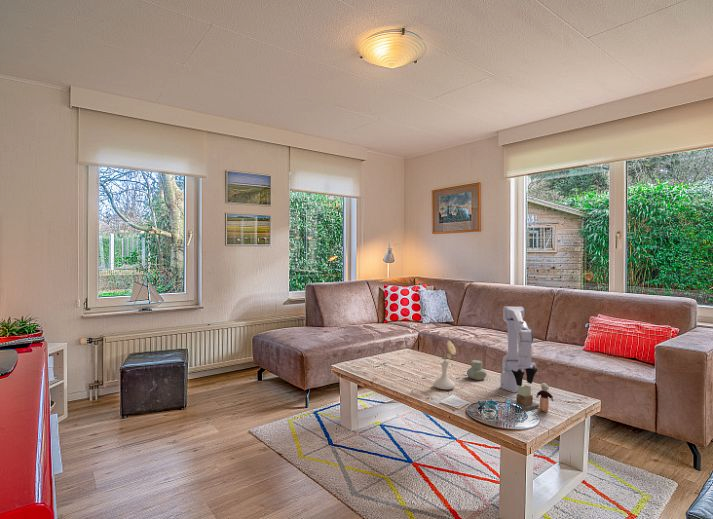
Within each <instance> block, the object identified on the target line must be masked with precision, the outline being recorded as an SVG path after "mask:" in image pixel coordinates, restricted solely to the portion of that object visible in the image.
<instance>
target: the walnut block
mask: <svg viewBox="0 0 713 519" xmlns="http://www.w3.org/2000/svg"><path fill="white" fill-rule="evenodd" d="M533 396H534V395H532V394H531V395H530V396H526V397H525V396H522V395H519V394H518V393H516V399H515V400H516V403H519V404H522V405H524V406H527V405H531V404H533V403H534V401H533Z"/></svg>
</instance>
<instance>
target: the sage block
mask: <svg viewBox="0 0 713 519" xmlns="http://www.w3.org/2000/svg"><path fill="white" fill-rule="evenodd" d="M531 389H532V387H531V386H530V385H526V384H523V383H522V386H518V392H517V394H519V395H522V396H525V397H526V396H530V395H532V394H531V392H532V390H531Z"/></svg>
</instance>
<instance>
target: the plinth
mask: <svg viewBox="0 0 713 519" xmlns="http://www.w3.org/2000/svg"><path fill="white" fill-rule="evenodd" d="M510 402H511V403H514V404H516V405H518V406H519V407H521V408H522V409H524V410H525V412H528V411H532V410H535V409H538V408H539V406H540V403H536V402H533V404H531V405H527V406H524V405H522V404H519V403H516V399H515V400H512V401H510ZM522 409H521V410H522ZM524 410H523V411H524Z"/></svg>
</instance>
